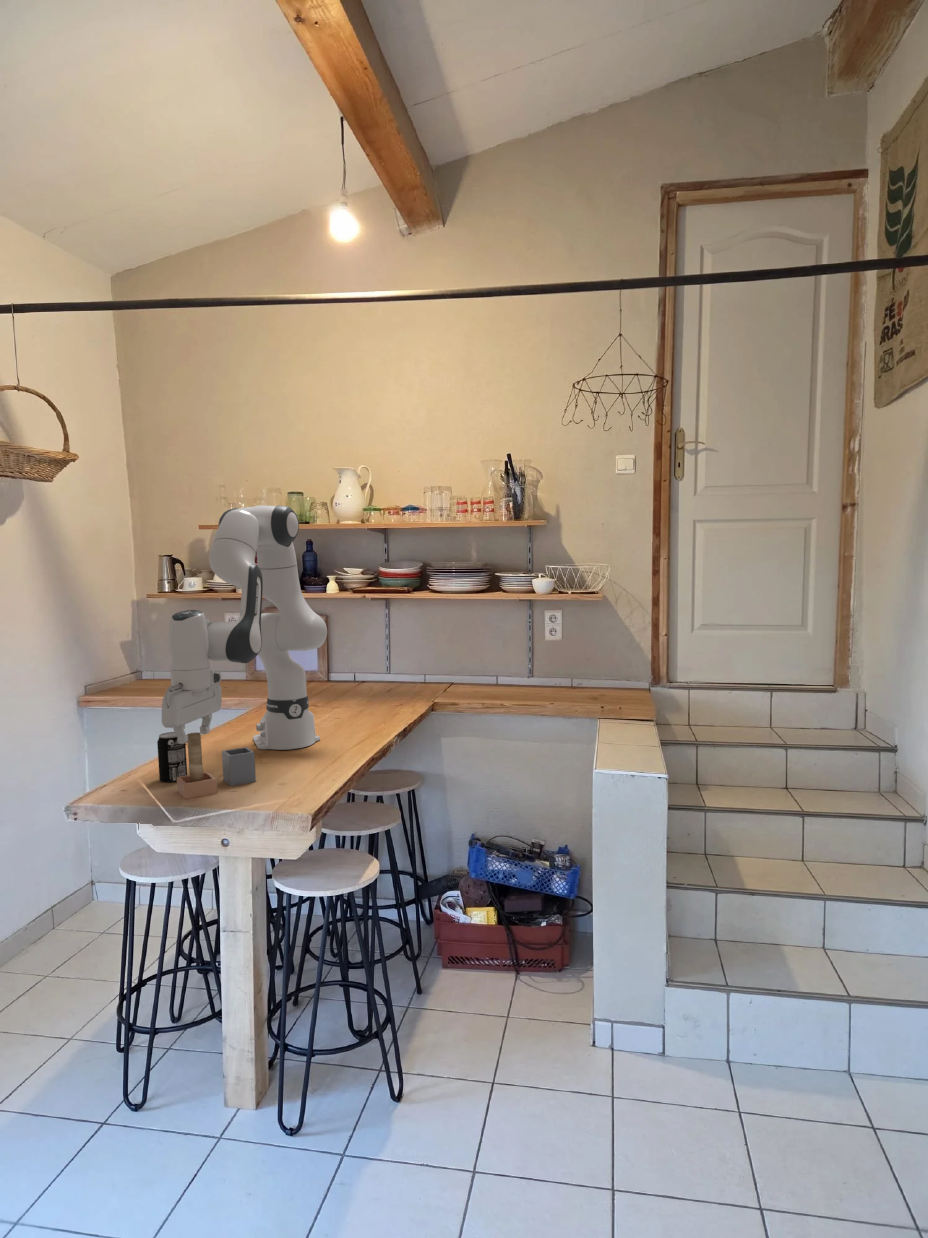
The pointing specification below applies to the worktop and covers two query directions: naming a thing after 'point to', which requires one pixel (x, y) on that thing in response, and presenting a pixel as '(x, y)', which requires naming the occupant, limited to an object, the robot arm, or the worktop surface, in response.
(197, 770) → the dowel
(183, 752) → the beverage can
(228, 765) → the deep cup
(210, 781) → the terracotta pot
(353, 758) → the worktop surface
